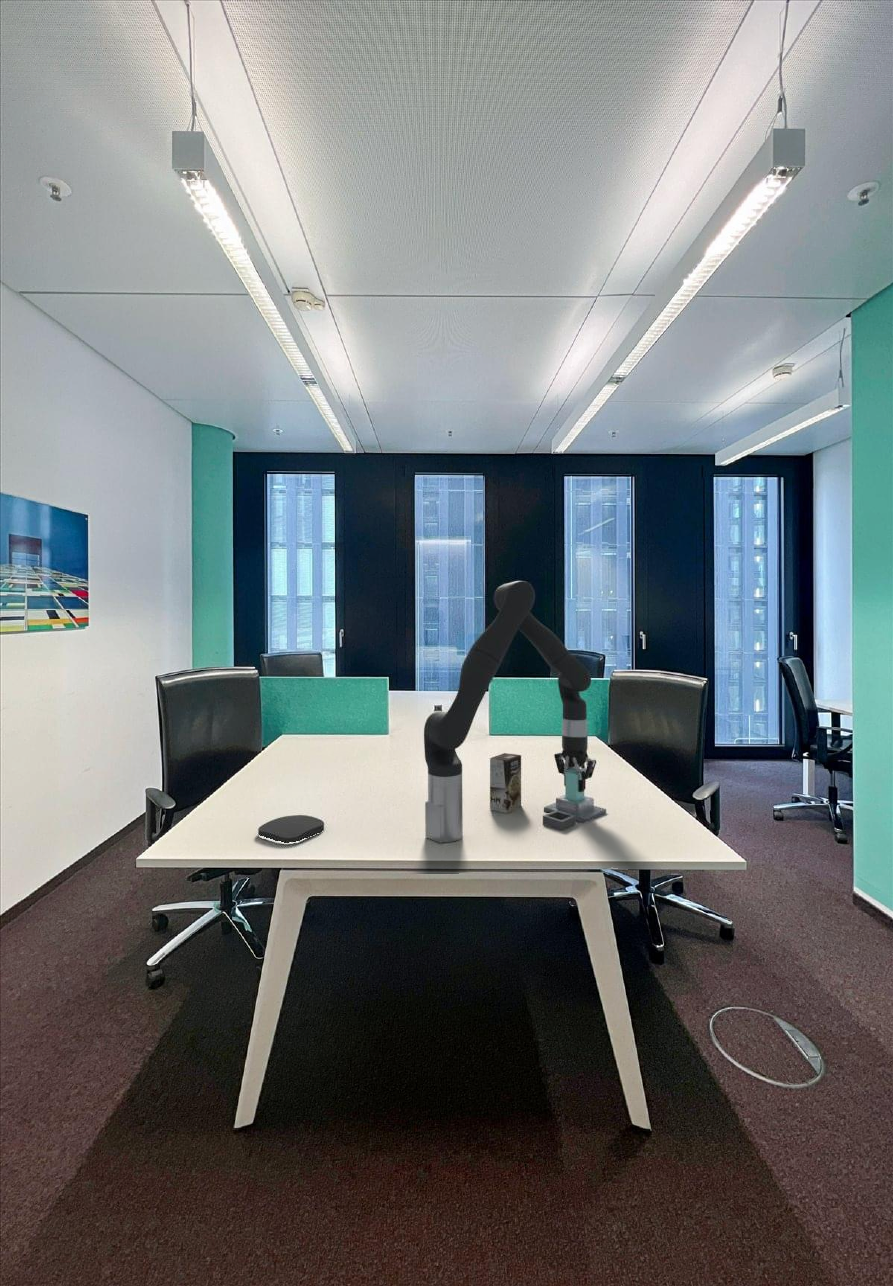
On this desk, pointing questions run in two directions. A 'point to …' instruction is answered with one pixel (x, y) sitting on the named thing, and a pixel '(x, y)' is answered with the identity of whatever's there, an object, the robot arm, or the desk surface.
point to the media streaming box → (291, 828)
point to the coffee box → (505, 782)
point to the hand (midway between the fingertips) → (574, 789)
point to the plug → (572, 786)
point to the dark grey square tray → (559, 820)
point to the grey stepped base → (577, 808)
